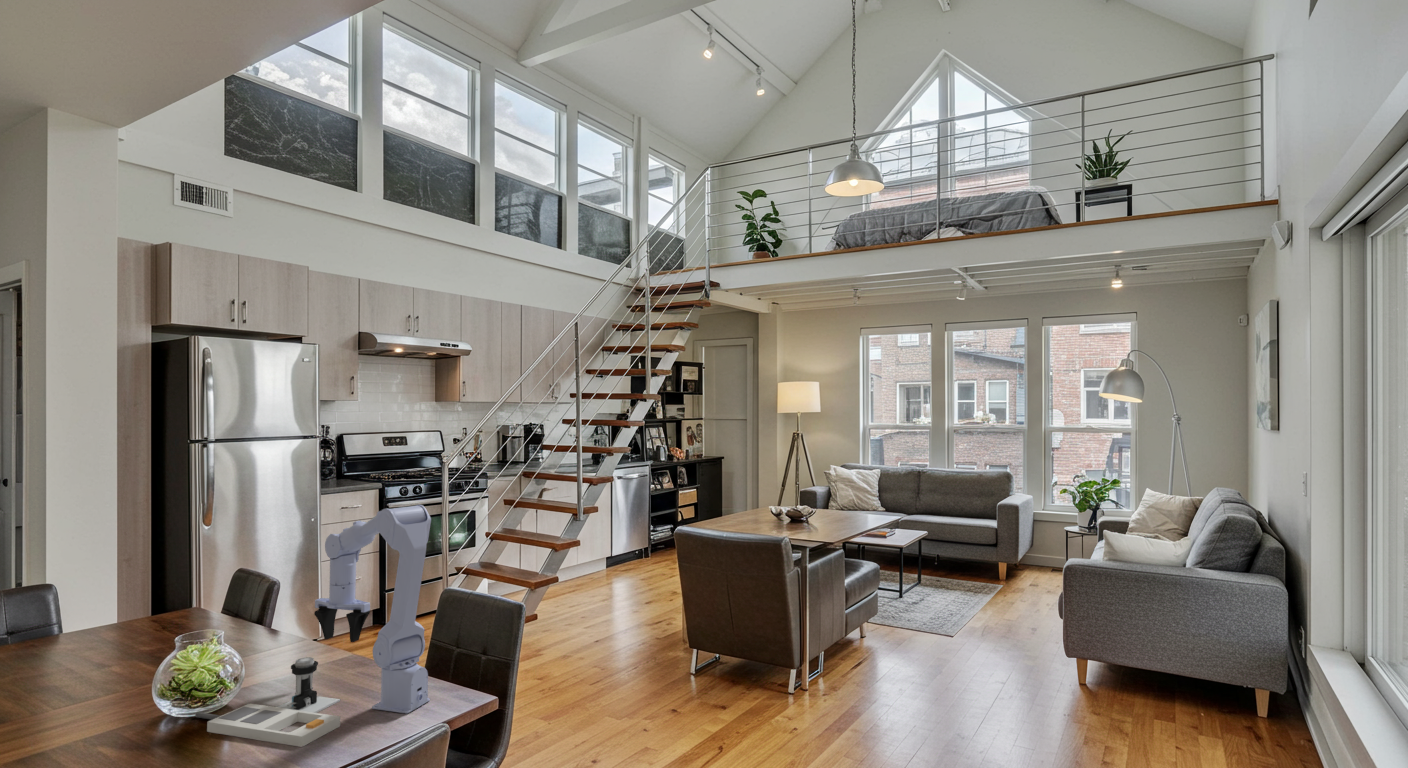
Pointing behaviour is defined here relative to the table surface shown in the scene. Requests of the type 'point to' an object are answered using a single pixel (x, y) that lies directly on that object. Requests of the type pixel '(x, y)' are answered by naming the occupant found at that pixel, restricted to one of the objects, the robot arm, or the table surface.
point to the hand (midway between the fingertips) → (341, 639)
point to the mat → (318, 706)
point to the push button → (304, 683)
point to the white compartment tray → (271, 724)
